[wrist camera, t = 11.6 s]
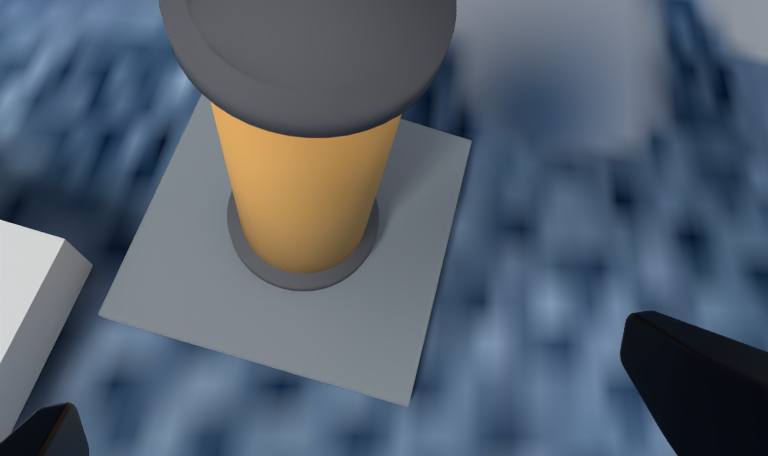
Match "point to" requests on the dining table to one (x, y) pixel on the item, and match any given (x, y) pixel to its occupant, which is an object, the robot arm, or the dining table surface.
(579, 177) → the dining table surface
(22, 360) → the holder sleeve
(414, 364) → the grey mat
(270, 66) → the cable reel
